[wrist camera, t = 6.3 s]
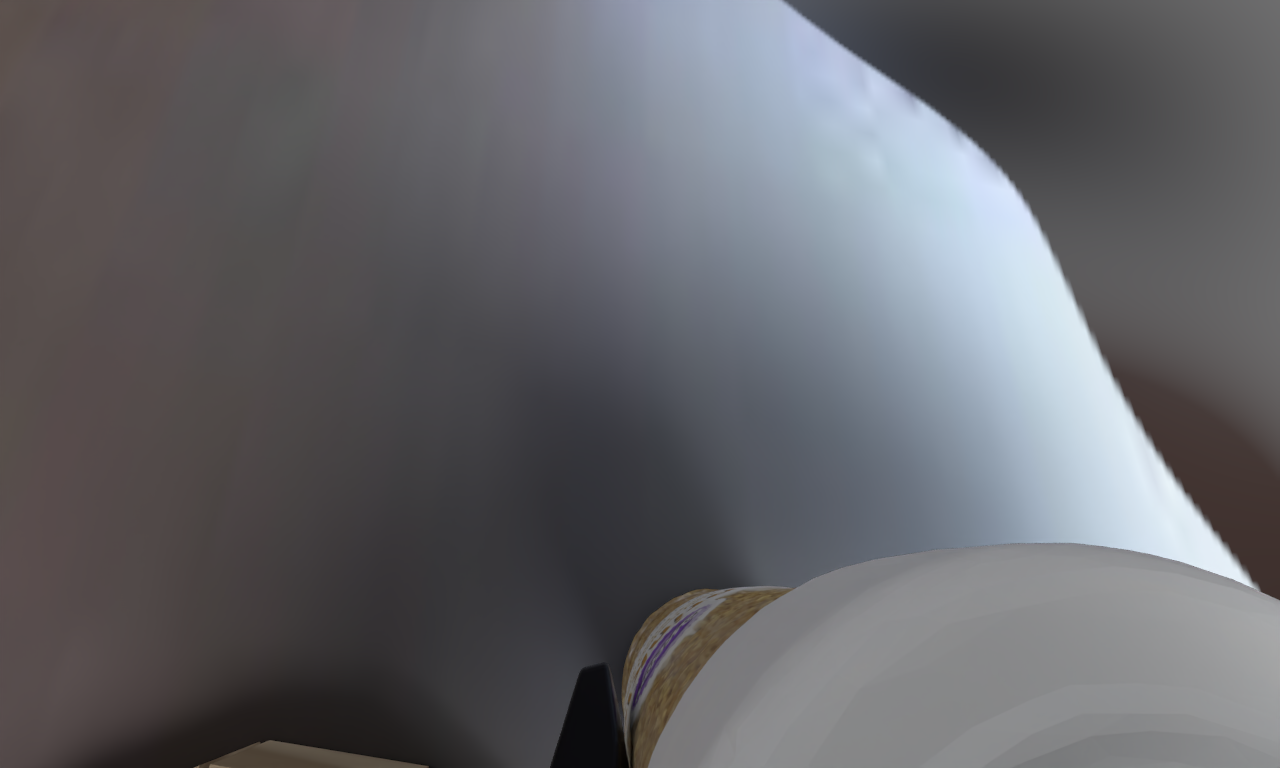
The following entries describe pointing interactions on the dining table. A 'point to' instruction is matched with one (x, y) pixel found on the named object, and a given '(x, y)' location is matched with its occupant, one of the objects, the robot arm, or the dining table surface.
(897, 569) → the sprinkles bottle
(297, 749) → the tray
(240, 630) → the dining table surface
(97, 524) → the dining table surface
